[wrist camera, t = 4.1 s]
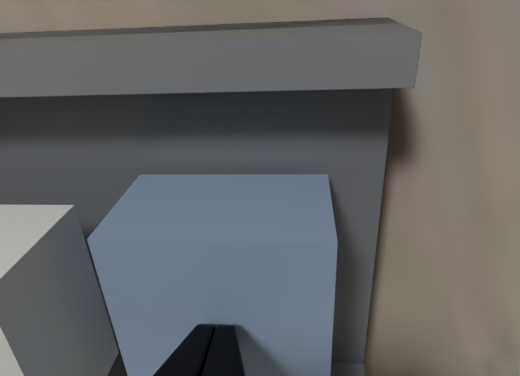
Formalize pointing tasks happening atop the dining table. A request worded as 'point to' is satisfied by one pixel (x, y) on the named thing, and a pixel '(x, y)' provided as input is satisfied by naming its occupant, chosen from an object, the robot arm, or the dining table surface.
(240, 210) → the blue-grey square block
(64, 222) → the off-white square block
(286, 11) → the dining table surface
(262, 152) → the panel
